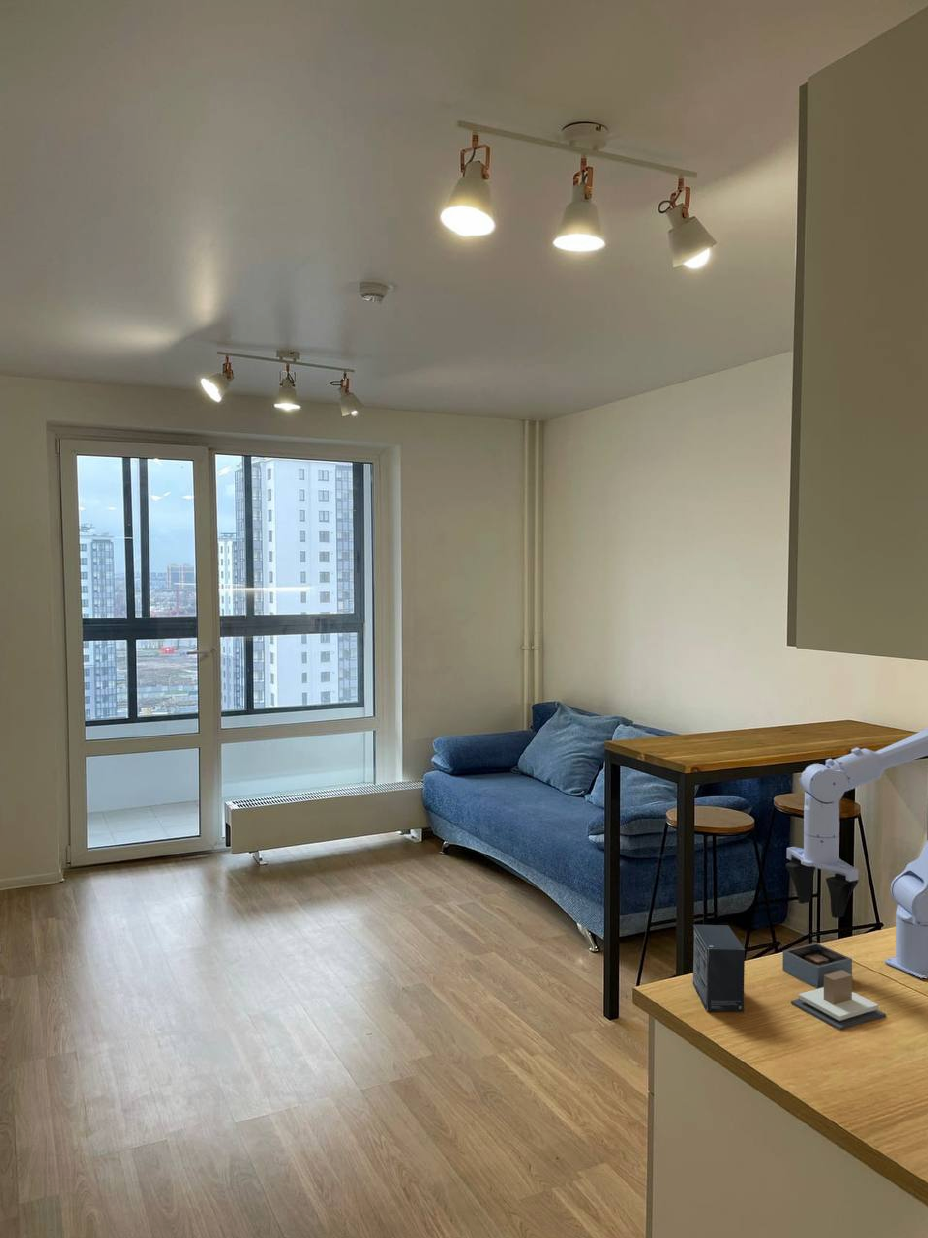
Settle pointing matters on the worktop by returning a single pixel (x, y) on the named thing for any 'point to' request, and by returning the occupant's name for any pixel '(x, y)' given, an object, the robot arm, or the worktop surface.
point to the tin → (814, 963)
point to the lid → (838, 997)
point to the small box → (718, 968)
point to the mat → (834, 1022)
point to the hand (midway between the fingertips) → (820, 909)
